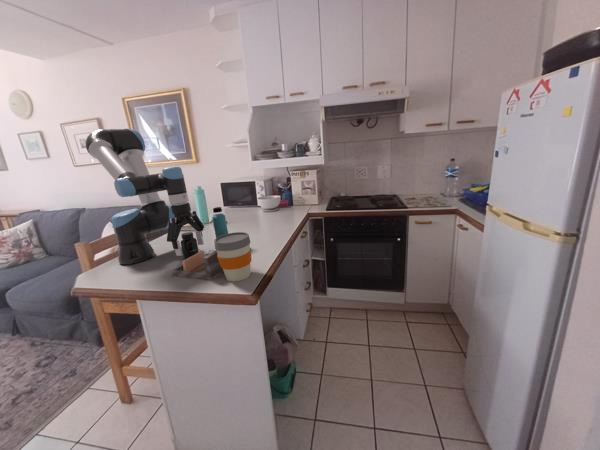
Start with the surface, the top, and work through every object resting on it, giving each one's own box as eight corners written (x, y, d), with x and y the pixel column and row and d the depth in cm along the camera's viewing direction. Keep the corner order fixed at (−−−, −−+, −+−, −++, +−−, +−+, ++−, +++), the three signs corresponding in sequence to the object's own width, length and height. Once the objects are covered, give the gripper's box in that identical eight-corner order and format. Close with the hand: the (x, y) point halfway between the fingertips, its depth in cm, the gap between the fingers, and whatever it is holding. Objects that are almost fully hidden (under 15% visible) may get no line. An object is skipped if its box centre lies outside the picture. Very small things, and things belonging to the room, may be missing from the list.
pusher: (184, 273, 103) (181, 261, 102) (203, 261, 113) (201, 250, 111) (187, 273, 103) (184, 261, 101) (205, 261, 112) (203, 250, 111)
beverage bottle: (226, 243, 137) (219, 205, 132) (233, 245, 133) (226, 206, 127) (215, 247, 133) (207, 208, 128) (221, 249, 128) (213, 209, 123)
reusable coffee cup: (260, 268, 102) (254, 231, 98) (247, 284, 91) (240, 243, 87) (231, 268, 105) (224, 232, 101) (214, 283, 94) (206, 243, 90)
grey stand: (172, 276, 104) (167, 255, 101) (197, 261, 116) (193, 243, 114) (211, 279, 97) (207, 258, 95) (233, 263, 109) (230, 244, 107)
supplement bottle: (194, 261, 117) (188, 235, 114) (181, 261, 118) (175, 236, 115) (203, 255, 123) (197, 230, 120) (190, 255, 125) (184, 231, 122)
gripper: (162, 209, 102) (175, 261, 107) (206, 197, 124) (215, 240, 129) (148, 210, 104) (162, 260, 110) (193, 198, 127) (202, 240, 132)
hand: (190, 249), depth 119 cm, fingers open, 13 cm apart
